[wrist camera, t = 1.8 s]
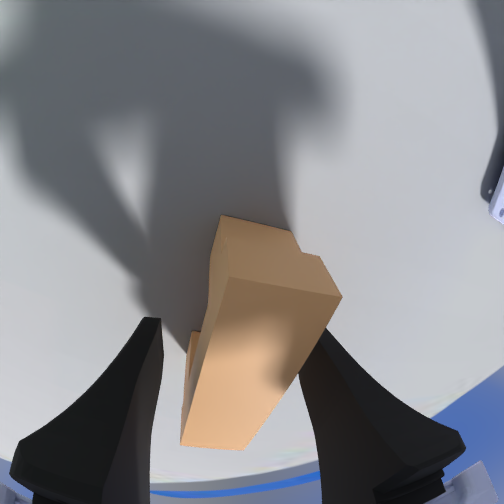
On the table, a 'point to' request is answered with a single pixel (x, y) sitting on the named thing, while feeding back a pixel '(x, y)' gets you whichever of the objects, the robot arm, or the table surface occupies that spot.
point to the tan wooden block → (252, 332)
